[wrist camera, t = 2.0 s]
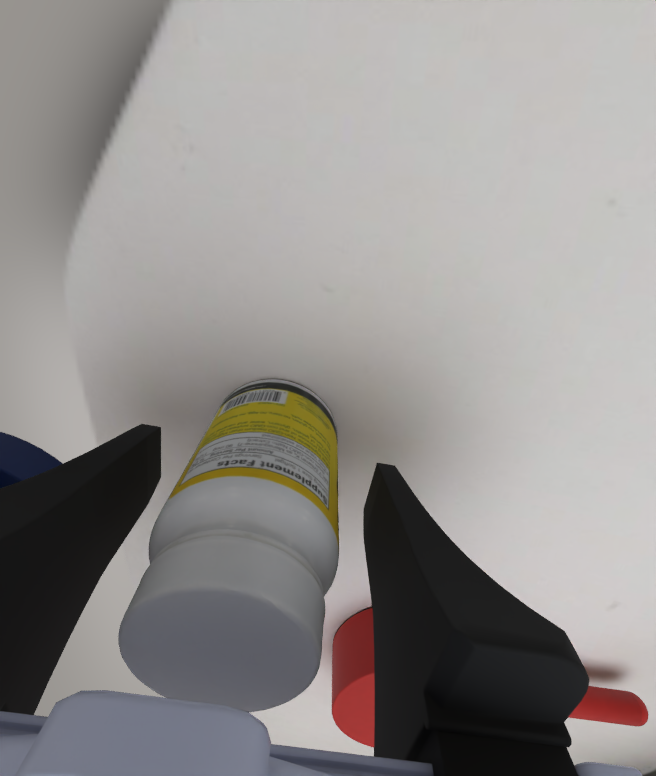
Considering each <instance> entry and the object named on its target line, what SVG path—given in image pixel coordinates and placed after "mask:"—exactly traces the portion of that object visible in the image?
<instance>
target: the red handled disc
mask: <svg viewBox="0 0 656 776" xmlns="http://www.w3.org/2000/svg"><path fill="white" fill-rule="evenodd" d="M332 715H333V719H334V721H335V723H336V725H337V726H338V727H339V729H340V730H341V731H342V732H343V733H344V734H346V735H347V736H349V737H350V738H352V739H353V740H355V741H357V742H360V743H362V744H364V745H367V746H371V747H374V725H375V682H374V632H373V610H372V608H369V609H367V610H364V611H362V612H360V613H358V614H356V615H354V616H352V617H351V618H349V619H348V620H347V621H346V622H345V623H344V624H343V625H342V626H341V627H340V628H339V630H338V631H337V633H336V635H335V637H334V640H333V654H332ZM569 717H570V718H577V719H585V720H592V721H600V722H608V723H615V724H623V725H631V726H642V725H644V724H645V723H646V722H647V719H648V711H647V708H646V706H645V704H644V703H643V701H642V700H641V699H640V698H639V697H638V696H636V695H635V694H633V693H631V692H628V691H622V690H614V689H607V688H599V687H592V686H588V690H587V692H586V694H585V696H584V697H583V699H582V701H581V702H580V703H579V704H578V706H577V707H576V708H575V709H574V710H573V712H572V713H571V714H570V715H569Z"/></svg>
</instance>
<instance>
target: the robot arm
mask: <svg viewBox="0 0 656 776" xmlns="http://www.w3.org/2000/svg"><path fill="white" fill-rule="evenodd" d="M160 478H161V427H157V426H151V425H145V424H141V425H139V426H137V427H135V428H133V429H131V430H129V431H127V432H125V433H123V434H121V435H119V436H117V437H116V438H114V439H112V440H110V441H108V442H106V443H104V444H102V445H100V446H99V447H97V448H95V449H93V450H91V451H89V452H87V453H85V454H83V455H81V456H79V457H77V458H74V459H72V460H70V461H68V462H66V463H64V464H62V465H59V466H57V467H55V468H53V469H51V470H48V471H46V472H43V473H41V474H39V475H36V476H34V477H31V478H28V479H26V480H23V481H20V482H18V483H15V484H12V485H10V486H7V487H3V488H0V776H642V774H641V772H640V771H639V770H638V769H636V768H634V767H628V766H620V765H612V764H604V763H596V762H584V763H580V764H577V765H575V766H574V764H573V762H572V760H571V757H570V755H569V752H568V750H567V748H566V747H569V746H570V745H571V737H570V735H569V733H568V730H567V728H566V726H565V724H564V721H565V720H566V719H567V718H568V717H569V715H570V714H571V713H572V712H573V710H574V709H575V708H576V707H577V706H578V704H579V703H580V702H581V701H582V699H583V697H584V696H585V694H586V692H587V690H588V685H589V677H588V675H587V672H586V670H585V668H584V666H583V664H582V662H581V660H580V658H579V657H578V655H577V653H576V651H575V649H574V647H573V645H572V643H571V642H570V640H569V638H568V636H567V635H566V633H565V631H563V630H562V629H560V628H559V627H557V626H556V625H554V624H553V623H551V622H550V621H548V620H547V619H546V618H544V617H543V616H541V615H540V614H538V613H537V612H535V611H534V610H532V609H531V608H529V607H528V606H526V605H525V604H524V603H522V602H521V601H520V600H518V599H517V598H516V597H514V596H513V595H512V594H510V593H509V592H508V591H506V590H505V589H504V588H503V587H501V586H500V585H499V584H498V583H497V582H495V581H494V580H493V579H492V578H491V577H489V576H488V575H487V574H486V573H485V572H484V571H483V570H481V569H480V568H479V567H478V566H477V565H476V564H475V563H474V562H473V561H472V560H470V559H469V558H468V557H467V556H466V555H465V554H464V553H463V552H462V551H461V550H460V549H459V548H458V547H457V546H456V545H455V543H454V542H453V541H452V540H451V539H450V538H449V537H448V536H447V535H446V534H445V533H444V532H443V530H442V529H441V528H440V527H439V526H438V524H437V523H436V522H435V521H434V520H433V518H432V517H431V516H430V515H429V513H428V512H427V511H426V509H425V508H424V507H423V506H422V504H421V503H420V501H419V500H418V499H417V497H416V496H415V495H414V493H413V492H412V490H411V489H410V487H409V486H408V484H407V483H406V481H405V480H404V478H403V477H402V476H401V474H400V473H399V471H398V470H397V468H396V467H395V466H393V465H387V464H381V463H377V465H376V468H375V472H374V475H373V479H372V482H371V486H370V489H369V493H368V496H367V499H366V503H365V506H364V544H365V552H366V560H367V568H368V576H369V584H370V591H371V599H372V610H373V632H374V682H375V725H374V757H373V756H364V755H356V754H348V753H340V752H331V751H323V750H315V749H307V748H299V747H290V746H282V745H274V744H271V741H270V737H269V734H268V730H267V728H266V726H265V725H264V724H263V723H262V722H261V721H260V720H258V719H257V718H256V717H254V716H253V715H251V714H250V713H249V712H247V711H243V710H239V709H236V708H232V707H229V706H225V705H218V704H210V703H202V702H194V701H186V700H178V699H170V698H163V697H155V696H147V695H139V694H130V693H123V692H115V691H107V690H102V691H101V690H96V691H80V692H78V693H75V694H73V695H71V696H69V697H67V698H65V699H62V700H60V701H58V702H56V704H55V706H54V707H53V709H52V711H51V713H50V715H49V716H48V717H44V716H36V715H34V713H35V710H36V708H37V706H38V704H39V702H40V699H41V697H42V695H43V693H44V690H45V688H46V686H47V683H48V681H49V679H50V677H51V675H52V673H53V671H54V669H55V667H56V665H57V662H58V660H59V658H60V656H61V654H62V652H63V650H64V648H65V646H66V643H67V641H68V639H69V637H70V635H71V633H72V631H73V629H74V627H75V625H76V623H77V621H78V619H79V617H80V615H81V613H82V611H83V609H84V608H85V606H86V604H87V602H88V600H89V598H90V596H91V594H92V592H93V590H94V589H95V587H96V585H97V583H98V581H99V579H100V577H101V576H102V574H103V572H104V571H105V569H106V567H107V566H108V564H109V562H110V561H111V559H112V558H113V556H114V555H115V553H116V552H117V550H118V549H119V547H120V546H121V544H122V543H123V541H124V540H125V538H126V537H127V535H128V534H129V532H130V531H131V529H132V528H133V526H134V525H135V523H136V522H137V520H138V519H139V517H140V516H141V514H142V513H143V511H144V509H145V508H146V506H147V505H148V503H149V501H150V499H151V497H152V495H153V493H154V491H155V489H156V487H157V484H158V482H159V480H160Z"/></svg>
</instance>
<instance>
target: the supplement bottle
mask: <svg viewBox="0 0 656 776" xmlns="http://www.w3.org/2000/svg"><path fill="white" fill-rule="evenodd" d="M338 558H339V527H338V451H337V429H336V424H335V421H334V418H333V416H332V414H331V412H330V410H329V408H328V407H327V406H326V404H325V403H324V402H323V401H322V400H321V399H320V398H319V397H318V396H317V395H316V394H314V393H313V392H312V391H310V390H308V389H307V388H305V387H303V386H300V385H298V384H296V383H292V382H289V381H285V380H278V379H266V380H259V381H254V382H251V383H248V384H246V385H243V386H242V387H240V388H238V389H237V390H235V391H234V392H232V393H231V394H230V395H229V396H228V397H227V398H226V399H225V400H224V401H223V403H222V404H221V406H220V407H219V409H218V411H217V413H216V415H215V416H214V418H213V420H212V422H211V423H210V425H209V427H208V429H207V431H206V432H205V434H204V436H203V438H202V440H201V441H200V443H199V445H198V447H197V449H196V451H195V452H194V454H193V456H192V457H191V459H190V461H189V463H188V464H187V466H186V468H185V470H184V472H183V473H182V475H181V477H180V479H179V480H178V482H177V484H176V486H175V488H174V489H173V491H172V493H171V495H170V496H169V498H168V500H167V502H166V503H165V505H164V507H163V508H162V510H161V512H160V514H159V516H158V518H157V520H156V522H155V524H154V527H153V530H152V533H151V537H150V542H149V560H150V566H149V567H148V568H147V570H146V572H145V573H144V575H143V577H142V579H141V582H140V584H139V586H138V588H137V590H136V592H135V594H134V596H133V599H132V601H131V603H130V605H129V607H128V609H127V611H126V613H125V615H124V618H123V620H122V622H121V625H120V629H119V647H120V652H121V655H122V658H123V659H124V661H125V663H126V664H127V666H128V667H129V669H130V670H131V672H132V673H133V674H134V675H135V676H136V677H137V678H138V679H139V680H140V681H141V682H142V683H144V684H145V685H146V686H148V687H149V688H151V689H152V690H154V691H155V692H157V693H158V694H160V695H162V696H164V697H166V698H170V699H178V700H186V701H194V702H202V703H210V704H218V705H225V706H229V707H232V708H236V709H239V710H243V711H247V712H255V711H260V710H266V709H269V708H273V707H276V706H279V705H281V704H283V703H286V702H288V701H290V700H292V699H293V698H295V697H296V696H298V695H299V694H301V693H302V692H303V691H304V690H305V689H306V688H307V687H308V686H309V685H310V684H311V682H312V681H313V679H314V678H315V676H316V674H317V672H318V669H319V665H320V659H321V651H322V636H323V623H324V618H325V601H324V596H325V594H326V593H327V591H328V590H329V588H330V587H331V585H332V583H333V580H334V578H335V575H336V571H337V566H338Z"/></svg>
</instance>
